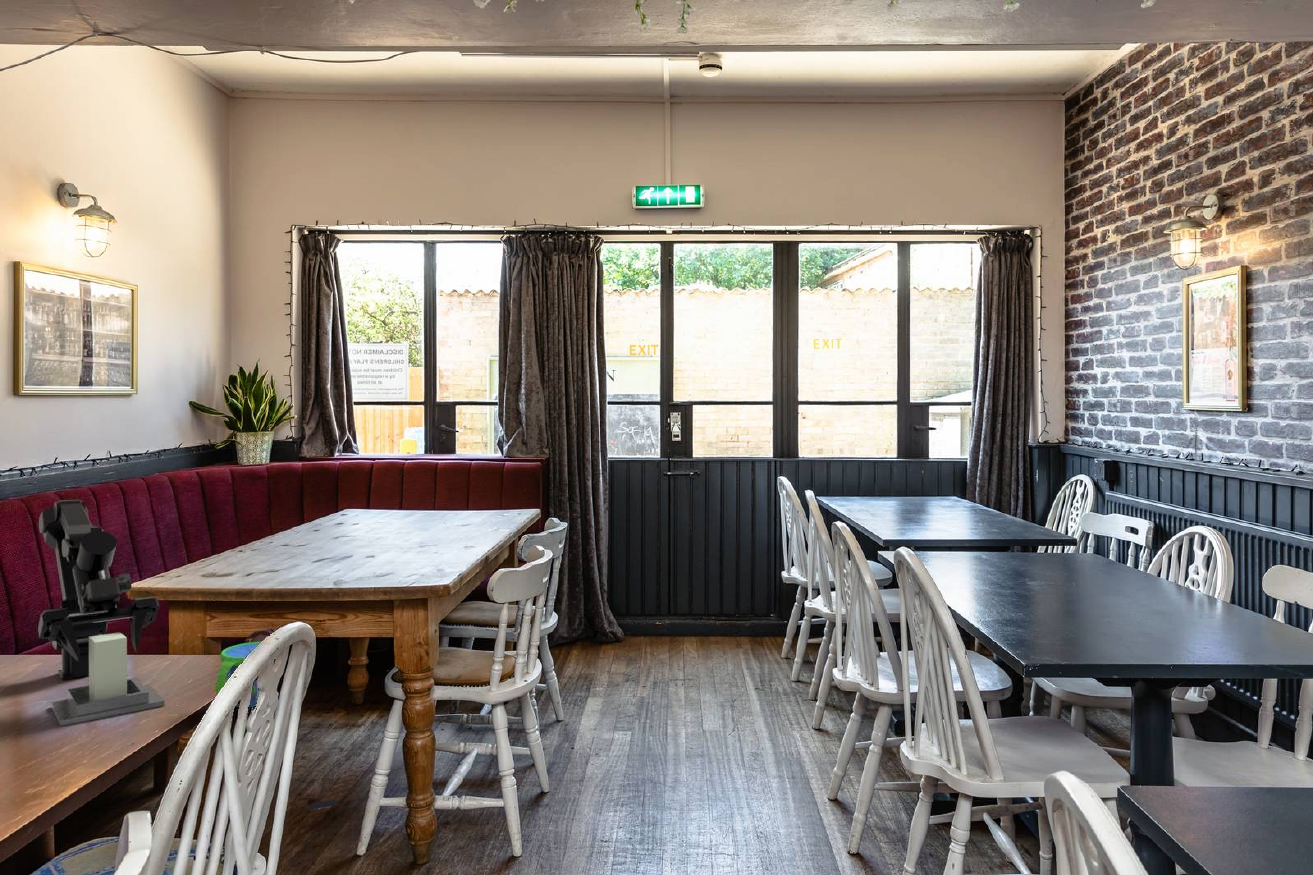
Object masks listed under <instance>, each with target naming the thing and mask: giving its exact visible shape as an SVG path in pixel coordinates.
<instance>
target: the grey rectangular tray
mask: <svg viewBox="0 0 1313 875" xmlns="http://www.w3.org/2000/svg"><path fill="white" fill-rule="evenodd" d="M165 703H166V702H165V698H163V697H162V696H161V695H160V694H159V692H157V690H156V689H155V687H154V686H152V685H151V684H150V683H149V684H144V685H143V684H142V683H141V681H140V680H138V678H137V677H131V678H127V695H121V696H116V697H110V698H105V699H99V700H94V701H89V685H85V686H79V687H73V688H68V689H67V698H66V699H61V700H57V701H56V700H54V701H51V702H50V708H51V710H52V711H53V714H54V716H55V718H56V720H57V722H58V723H59V726H60V727H63V726H69V725H73V724H80V723H85V722H89V721H94V720H98V719H99V720H100V719H104V718H110V717H115V716H119V715H125V714H129V713H130V714H131V713H135V712H140V711H145V710H150V709H155V708H161V707H165V706H166V705H165Z"/></svg>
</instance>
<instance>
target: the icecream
mask: <svg viewBox="0 0 1313 875" xmlns="http://www.w3.org/2000/svg"><path fill="white" fill-rule="evenodd" d="M273 632H274V633H275V632H276V630H275V627H269V628H266V629H264V630H263V629H261V630H255V631H254V632H252V633H251V634H250V635H248V636H246V638H244V643H251V642H261V641H263V640H264V639H265V638H266V637H267V636H270V634H272V633H273Z"/></svg>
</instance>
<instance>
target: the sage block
mask: <svg viewBox="0 0 1313 875" xmlns="http://www.w3.org/2000/svg"><path fill="white" fill-rule="evenodd" d="M127 638H128V637H127V636H125V635H124V634H123V633H121V632H120V631H119V632H114V633H113V632H112V633H106V634H105V635H98V636H91V637H89V675H88V686H89V701H94V700H99V699H105V698H110V697H116V696H121V695H127V679H128V665H127V664H128V648H127V647H128V643H127V642H128V639H127Z"/></svg>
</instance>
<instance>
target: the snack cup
mask: <svg viewBox="0 0 1313 875" xmlns="http://www.w3.org/2000/svg"><path fill="white" fill-rule="evenodd" d="M260 643H261V642H251V643H245V642H244V643H240V644H237V645H232V646H228V647H226V648H225V649H223V650H221V653H220V655H219V656H220V660H221V665H220V667H219V671H218V674H217V676H216V677H217V678H216V685H215V692H216V695H217V694H218V692H219V691H220V689H221V688H222V687H224V685H225V682H226V681H227V680H228V679H229V678H230V677H231V675H232V674H233V673H234V671H235V670H236V668H238V666H239V665H240V664H242V663H243V661H244V659H245V657H246V656H247V655H249V654H250V653H251V652H252V650H254V649H255V648H256V647H257V646H258V645H259V644H260ZM226 683H227V682H226ZM258 697H259V690H258V688H257V680H256V681H255V682H254V686H253V688H252V694H251V700H250V705H249V707H248V708H255V705H256V704H257V700H258ZM238 705H239V704H238ZM238 705H236V706H235V707H236V708H239V707H238Z"/></svg>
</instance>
